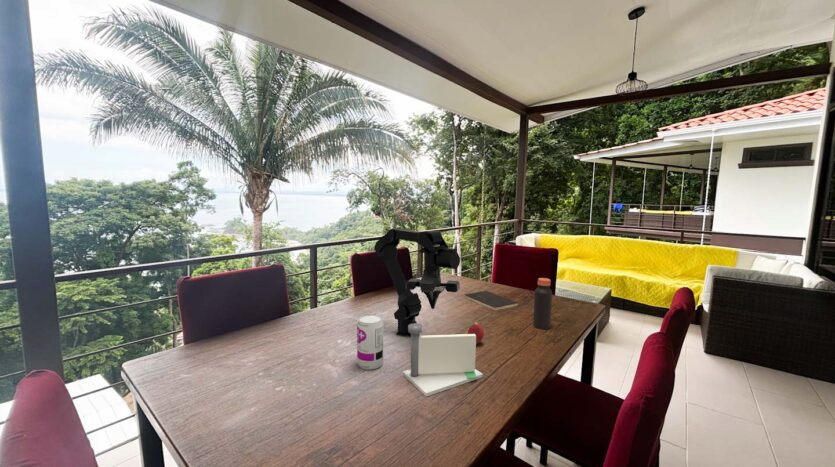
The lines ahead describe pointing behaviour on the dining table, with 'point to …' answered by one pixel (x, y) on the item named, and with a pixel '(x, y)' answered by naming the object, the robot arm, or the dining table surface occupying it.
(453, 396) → the dining table surface
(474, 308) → the dining table surface
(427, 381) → the white base board
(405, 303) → the robot arm
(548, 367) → the dining table surface
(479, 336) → the onion
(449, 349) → the hinged door panel
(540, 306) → the bottle
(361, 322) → the supplement can
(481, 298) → the hardcover book
